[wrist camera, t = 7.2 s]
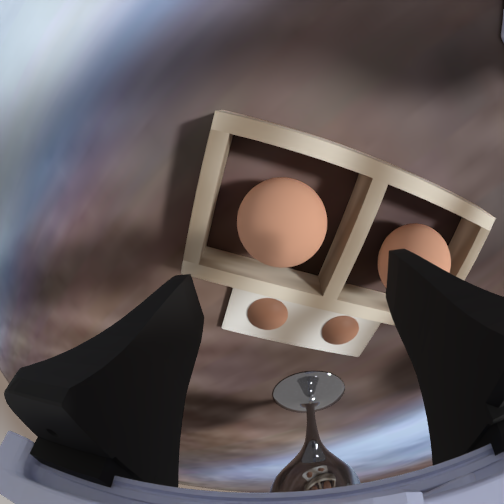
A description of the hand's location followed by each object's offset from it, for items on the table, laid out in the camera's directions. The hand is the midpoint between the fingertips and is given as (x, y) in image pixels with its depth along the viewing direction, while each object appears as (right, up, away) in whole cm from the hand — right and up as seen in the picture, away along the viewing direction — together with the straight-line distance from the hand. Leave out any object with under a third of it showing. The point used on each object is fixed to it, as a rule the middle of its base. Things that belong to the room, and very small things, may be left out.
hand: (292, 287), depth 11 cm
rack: (+4, +1, +10) cm, 11 cm away
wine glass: (+4, -13, +17) cm, 22 cm away
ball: (+9, +1, +7) cm, 11 cm away
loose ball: (0, +3, +6) cm, 7 cm away
